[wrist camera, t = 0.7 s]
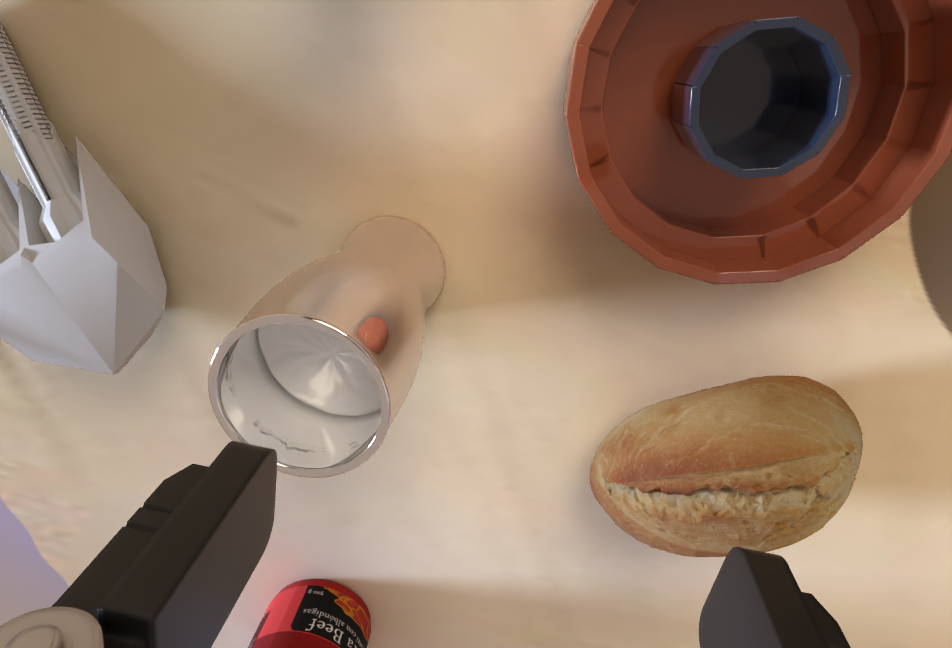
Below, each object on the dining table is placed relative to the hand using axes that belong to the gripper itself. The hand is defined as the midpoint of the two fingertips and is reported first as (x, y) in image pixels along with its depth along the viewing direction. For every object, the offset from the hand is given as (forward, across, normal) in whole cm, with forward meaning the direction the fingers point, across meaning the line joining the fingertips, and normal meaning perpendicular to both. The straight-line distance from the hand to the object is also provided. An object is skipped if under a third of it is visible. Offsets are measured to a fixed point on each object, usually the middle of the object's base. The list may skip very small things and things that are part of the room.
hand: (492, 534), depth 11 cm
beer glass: (+25, +7, +5) cm, 26 cm away
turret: (+25, +26, +5) cm, 36 cm away
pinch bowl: (+24, -9, -8) cm, 27 cm away
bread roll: (+25, -14, +11) cm, 30 cm away
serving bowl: (+25, -9, -8) cm, 27 cm away
